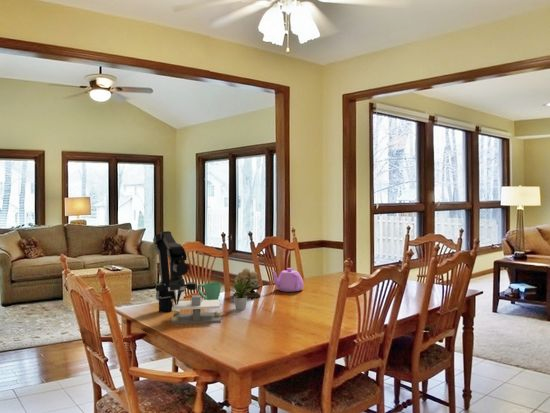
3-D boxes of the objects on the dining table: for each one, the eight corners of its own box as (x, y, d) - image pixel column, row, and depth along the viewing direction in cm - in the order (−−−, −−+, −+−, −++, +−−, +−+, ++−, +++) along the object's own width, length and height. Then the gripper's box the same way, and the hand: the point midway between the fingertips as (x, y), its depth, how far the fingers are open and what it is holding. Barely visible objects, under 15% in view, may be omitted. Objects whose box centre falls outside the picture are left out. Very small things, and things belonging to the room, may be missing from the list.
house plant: (250, 313, 241) (250, 281, 241) (224, 312, 244) (223, 280, 244) (257, 306, 255) (256, 276, 255) (232, 305, 258) (231, 275, 258)
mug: (224, 300, 270) (224, 283, 270) (215, 304, 261) (215, 286, 261) (203, 298, 276) (202, 281, 276) (193, 302, 267) (192, 284, 267)
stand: (170, 324, 222) (170, 312, 222) (174, 315, 238) (174, 304, 238) (220, 322, 225) (220, 310, 225) (220, 313, 241) (220, 302, 241)
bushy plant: (265, 296, 282) (265, 267, 282) (256, 300, 272) (255, 270, 271) (239, 293, 290) (238, 265, 290) (228, 297, 280) (228, 268, 279)
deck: (171, 310, 223) (171, 299, 223) (174, 303, 237) (174, 293, 237) (219, 308, 226) (219, 297, 225) (219, 301, 239) (219, 291, 239)
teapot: (263, 289, 301) (262, 267, 301) (292, 285, 312) (292, 264, 311) (279, 295, 282) (279, 272, 282) (311, 291, 292) (310, 269, 292)
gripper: (153, 275, 221) (154, 309, 221) (194, 274, 223) (195, 307, 223) (157, 271, 232) (157, 303, 232) (196, 270, 234) (196, 302, 234)
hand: (176, 304), depth 230 cm, fingers closed, pressing on deck
